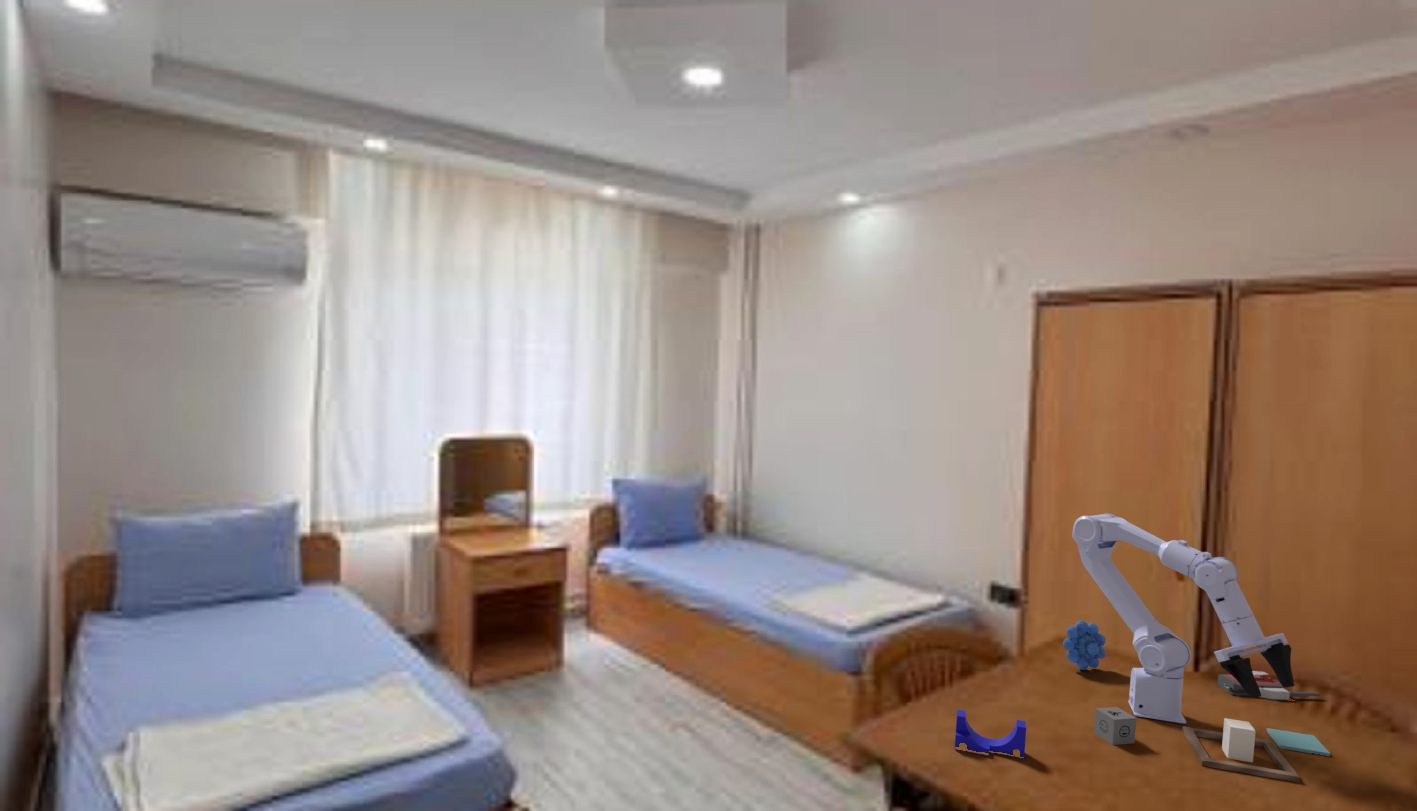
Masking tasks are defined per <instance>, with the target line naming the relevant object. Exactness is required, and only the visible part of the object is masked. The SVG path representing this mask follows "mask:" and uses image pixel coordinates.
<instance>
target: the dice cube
mask: <svg viewBox="0 0 1417 811" xmlns="http://www.w3.org/2000/svg"><path fill="white" fill-rule="evenodd" d="M1136 727H1137V716H1135V715H1134V716H1133V715H1132V714H1130V713H1129V712H1127V711H1125V710H1123V709H1121V708H1119V707H1118V706H1110V707H1100V708H1099V707H1096V708H1095V712H1094V726H1093V734H1095V735H1096V736H1098V737H1099V738H1101V739H1103V740H1104V741H1106V742H1107V743H1108V744H1110V745H1111V746H1115V745H1127V744H1129V745H1130V744H1135V743H1136V742H1135V741H1136Z"/></svg>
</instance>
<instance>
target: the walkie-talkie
mask: <svg viewBox="0 0 1417 811" xmlns="http://www.w3.org/2000/svg"><path fill="white" fill-rule="evenodd" d="M1252 672H1253V675H1254V678H1255V680H1256V683H1257V685H1258V687H1259V689H1260V692H1261V696H1259V697H1258V698H1262V699H1266V700H1267V699H1268V700H1275V701H1277V700H1281V701H1289V700H1290V698H1295V697H1297V698H1298V697H1299V698H1309V697H1321V694H1320V693H1319V692H1315V691H1313V692H1311V691H1309V692H1308V691H1291V690H1289V691H1288V689H1286V688H1284V687H1283V686H1282V685H1281V683H1280V681H1277V680H1276V679H1274V678H1273V676H1272V675H1271V674H1270V673H1268V672H1265V671H1262V670H1261V671H1260V670H1252ZM1217 686H1218V687H1220V688H1221V689H1224V690H1225V691H1227V692H1229V693H1230V694H1232V695H1235V696H1249V694H1248V693H1247V692H1246V691H1245V689H1244V688H1243V687H1242V686H1241V684H1240V683H1239V682H1238V681H1237V680H1236V679H1235V678H1234V677H1233V676H1232V675H1231V674H1230V673H1229V674H1227V673H1226V674H1224V673H1223V674H1220V673H1219V674H1218V675H1217ZM1249 697H1250V696H1249Z"/></svg>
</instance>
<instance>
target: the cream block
mask: <svg viewBox="0 0 1417 811" xmlns="http://www.w3.org/2000/svg"><path fill="white" fill-rule="evenodd" d="M1222 729H1223V731H1222V733H1223V741H1222V740H1221V741H1222V744H1221V745H1222V746H1221V750H1222V751H1223V753H1224V755H1225V756H1226V758H1227V759H1230V760H1236V761H1241V762H1248V763H1254V755H1255V746H1254V743H1255V738H1256V730H1255V728H1254V727H1253V726H1252V724H1251V723H1250V722H1249V721H1246V720H1238V719H1234V718H1233V719H1232V718H1225V717H1224V719H1223V728H1222Z"/></svg>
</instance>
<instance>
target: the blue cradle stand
mask: <svg viewBox="0 0 1417 811" xmlns="http://www.w3.org/2000/svg"><path fill="white" fill-rule="evenodd" d="M956 710H957V711H956V723H955V738H954V739H955V740H954V748H955V747H959V744H960V743H965V744H966V745H967V749H968V750H972V751H976V752H985V753H989V751H993V752H1002V753H1007V754H1010V755H1013V750H1019V751H1020V757H1024V758H1025V754H1026V751H1025V749H1026V739H1027V738H1026V737H1027V724H1026V720H1022V719H1021V720H1020V719H1016V722H1015V726H1014V728H1013V730H1012V731H1011V732H1010V733H1009V734H1007V735H1005V736H1004V737H1001V738H997V739H996V738H988V737H985V736H982V735H980V734H978V733H977V732H976V731H975V730H974V729H973V728H972V726H970V723H969V722H968V719H967V714H966V711H967V710H963V709H956ZM989 754H990V753H989Z"/></svg>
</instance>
